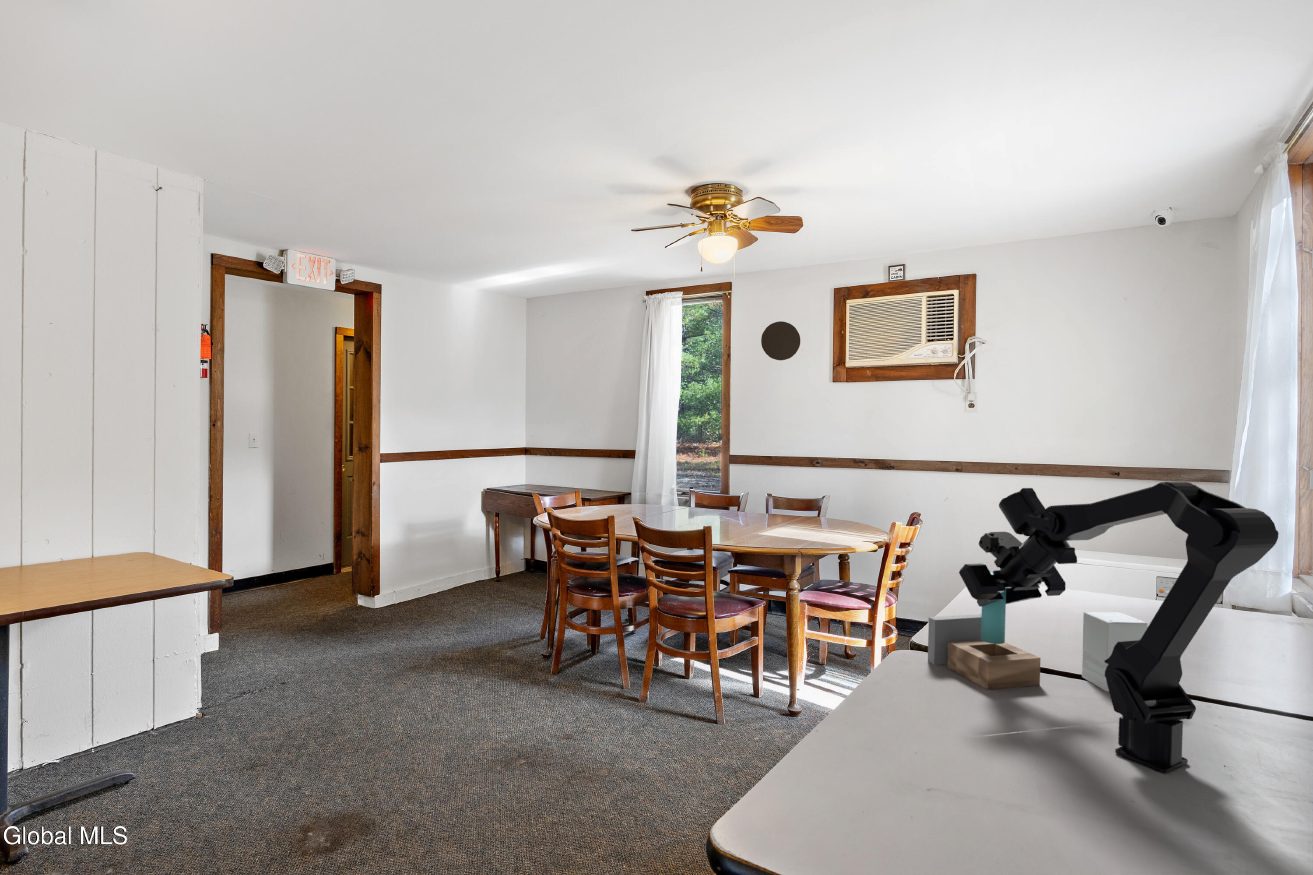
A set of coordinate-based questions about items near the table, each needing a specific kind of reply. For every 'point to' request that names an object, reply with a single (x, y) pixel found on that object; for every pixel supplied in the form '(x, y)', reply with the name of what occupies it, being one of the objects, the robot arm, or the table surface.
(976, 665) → the hole block
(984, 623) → the dowel
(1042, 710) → the table surface
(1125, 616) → the supplement box
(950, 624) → the backstop wall
